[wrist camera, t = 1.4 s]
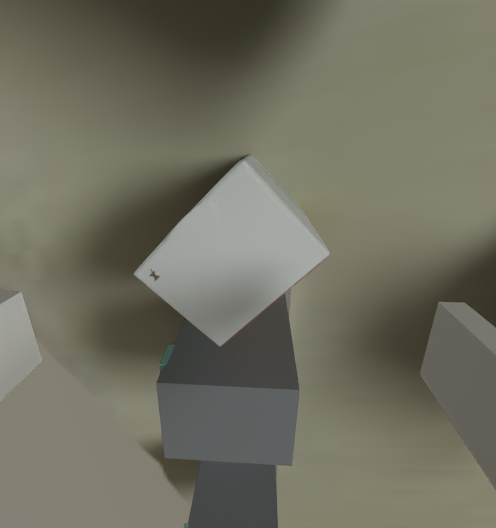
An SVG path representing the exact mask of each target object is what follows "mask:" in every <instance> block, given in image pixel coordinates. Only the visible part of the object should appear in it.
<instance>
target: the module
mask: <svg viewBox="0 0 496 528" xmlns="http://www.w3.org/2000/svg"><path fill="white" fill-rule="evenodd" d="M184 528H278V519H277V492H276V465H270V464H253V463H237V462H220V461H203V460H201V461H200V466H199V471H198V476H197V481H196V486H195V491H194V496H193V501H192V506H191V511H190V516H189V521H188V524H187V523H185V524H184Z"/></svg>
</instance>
